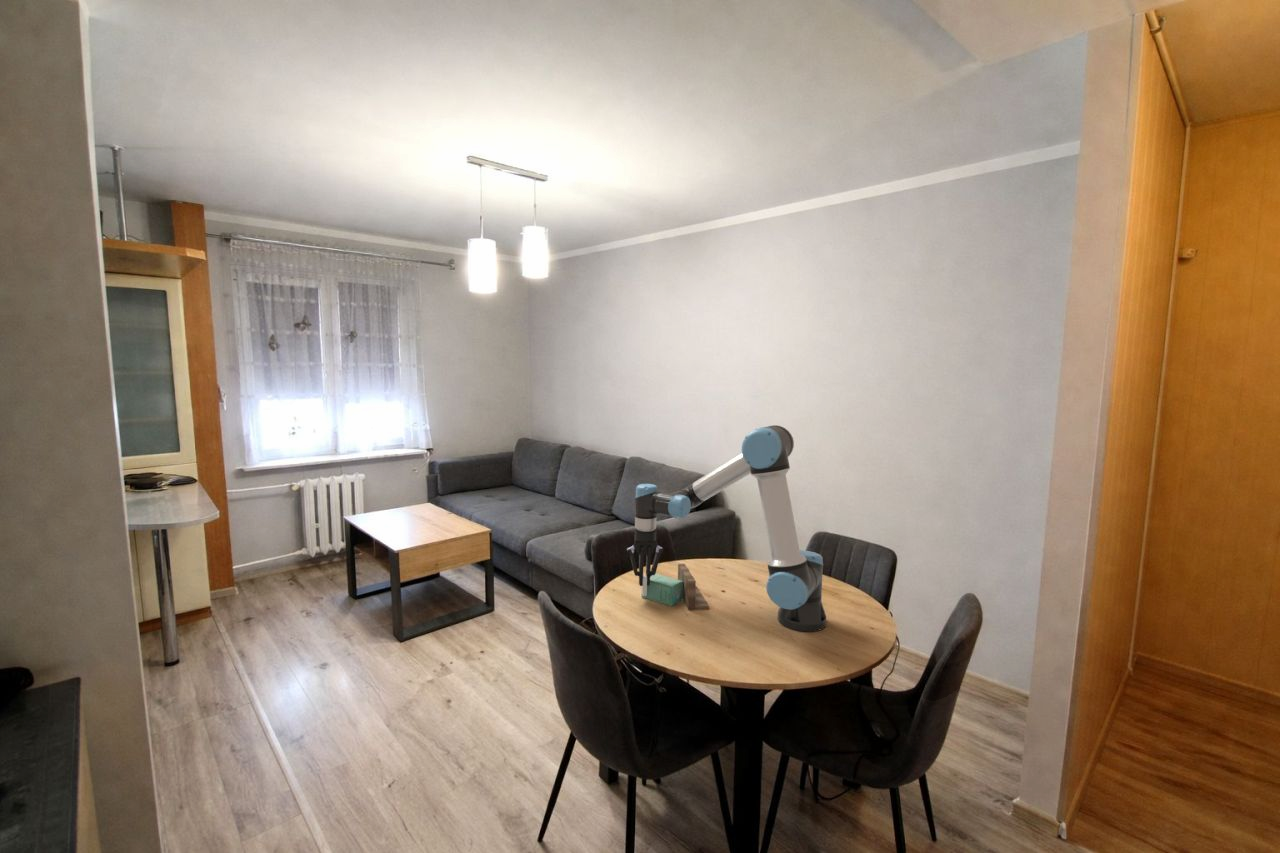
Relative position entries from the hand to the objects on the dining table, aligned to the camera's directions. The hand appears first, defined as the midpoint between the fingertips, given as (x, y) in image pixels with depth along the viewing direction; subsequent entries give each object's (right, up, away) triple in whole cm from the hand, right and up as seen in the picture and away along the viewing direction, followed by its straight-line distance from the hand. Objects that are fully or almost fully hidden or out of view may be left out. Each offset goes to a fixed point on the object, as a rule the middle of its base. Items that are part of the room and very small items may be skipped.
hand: (644, 594), depth 194 cm
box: (+7, -3, +2) cm, 7 cm away
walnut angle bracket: (+17, -3, +3) cm, 18 cm away
